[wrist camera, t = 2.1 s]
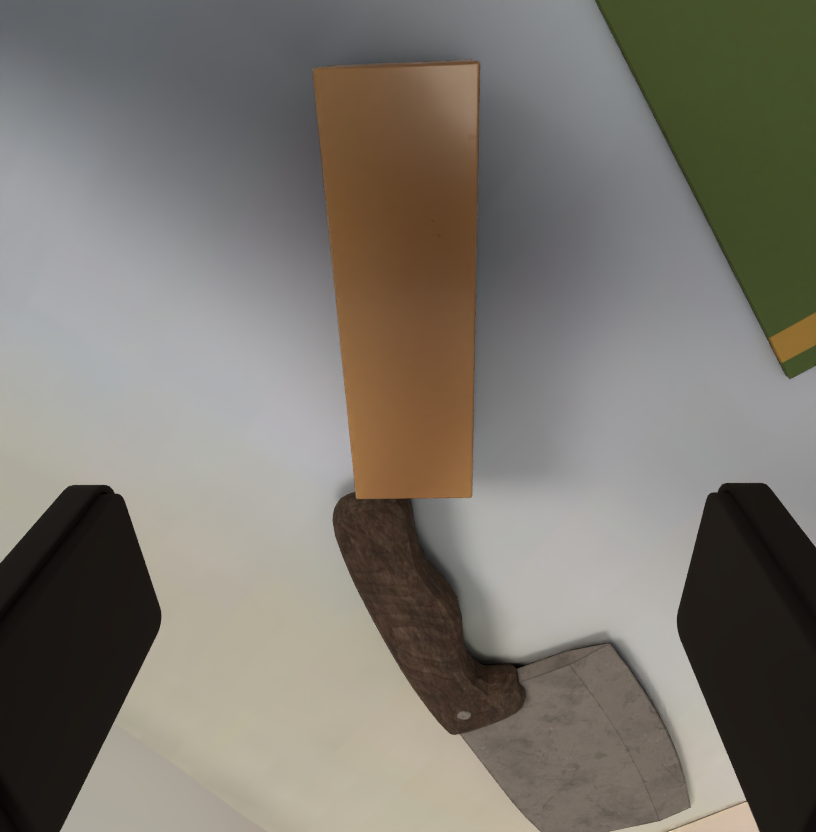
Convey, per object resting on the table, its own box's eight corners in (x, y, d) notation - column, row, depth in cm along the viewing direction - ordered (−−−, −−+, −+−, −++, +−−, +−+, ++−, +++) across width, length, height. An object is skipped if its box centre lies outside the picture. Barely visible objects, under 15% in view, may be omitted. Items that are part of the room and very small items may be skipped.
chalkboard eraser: (365, 442, 24) (355, 499, 21) (332, 64, 18) (311, 68, 15) (466, 441, 24) (472, 498, 21) (471, 58, 18) (480, 60, 15)
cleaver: (285, 512, 26) (275, 547, 24) (497, 420, 24) (503, 451, 22) (550, 830, 39) (556, 869, 37) (705, 794, 37) (719, 834, 35)
